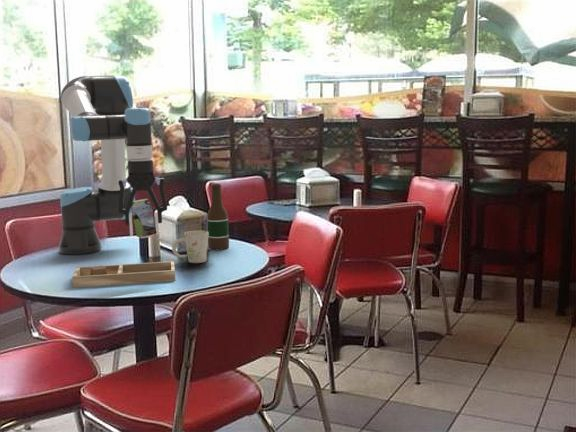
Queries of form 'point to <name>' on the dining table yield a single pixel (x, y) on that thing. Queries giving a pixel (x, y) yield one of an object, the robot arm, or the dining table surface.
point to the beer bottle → (217, 221)
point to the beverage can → (143, 218)
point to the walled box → (125, 274)
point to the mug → (194, 246)
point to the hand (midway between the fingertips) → (144, 234)
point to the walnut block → (98, 270)
